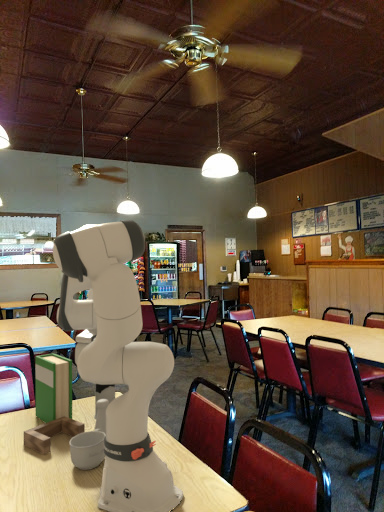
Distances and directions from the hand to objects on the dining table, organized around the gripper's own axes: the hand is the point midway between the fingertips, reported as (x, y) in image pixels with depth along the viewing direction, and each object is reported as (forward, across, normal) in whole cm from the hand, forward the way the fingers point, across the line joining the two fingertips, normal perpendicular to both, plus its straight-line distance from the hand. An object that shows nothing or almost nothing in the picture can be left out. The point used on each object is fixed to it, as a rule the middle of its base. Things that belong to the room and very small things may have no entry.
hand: (100, 372), depth 131 cm
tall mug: (+23, -16, -14) cm, 32 cm away
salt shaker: (+23, 0, +1) cm, 23 cm away
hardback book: (+23, -4, -28) cm, 37 cm away
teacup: (+22, +14, +9) cm, 28 cm away
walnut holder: (+22, +9, -13) cm, 27 cm away
